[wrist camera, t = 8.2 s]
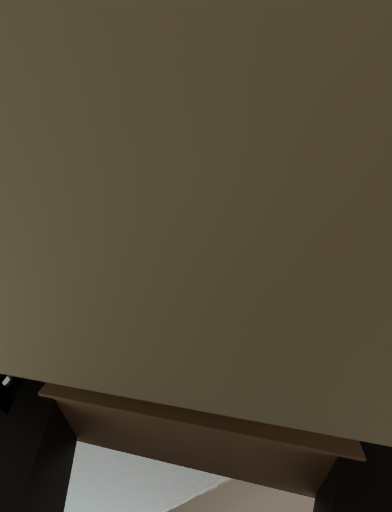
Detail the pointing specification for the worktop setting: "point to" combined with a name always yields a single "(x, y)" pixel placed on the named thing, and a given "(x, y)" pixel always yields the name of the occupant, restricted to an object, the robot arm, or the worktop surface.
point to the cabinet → (201, 205)
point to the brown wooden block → (204, 439)
